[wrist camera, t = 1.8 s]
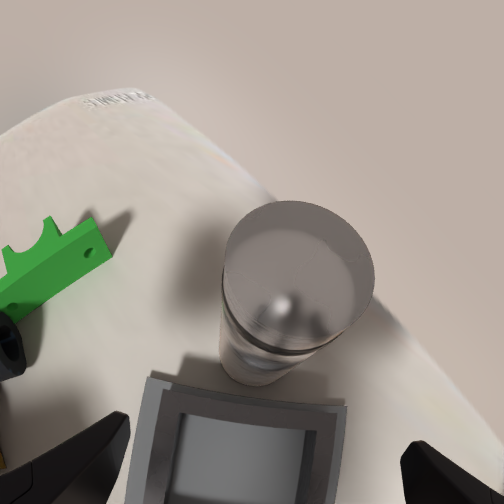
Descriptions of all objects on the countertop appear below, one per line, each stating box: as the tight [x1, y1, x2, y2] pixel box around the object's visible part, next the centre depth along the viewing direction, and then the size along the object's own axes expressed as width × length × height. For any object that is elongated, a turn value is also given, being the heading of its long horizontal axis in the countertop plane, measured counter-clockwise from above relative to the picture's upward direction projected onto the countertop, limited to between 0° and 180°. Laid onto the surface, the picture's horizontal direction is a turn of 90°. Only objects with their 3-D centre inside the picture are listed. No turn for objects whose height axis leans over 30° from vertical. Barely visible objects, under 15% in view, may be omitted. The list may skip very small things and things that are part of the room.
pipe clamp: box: [0, 216, 112, 324], centre depth 20 cm, size 11×4×5 cm, turn 131°
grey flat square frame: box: [124, 377, 347, 504], centre depth 16 cm, size 12×14×1 cm
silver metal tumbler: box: [219, 201, 375, 386], centre depth 16 cm, size 5×5×13 cm
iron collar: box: [143, 389, 337, 504], centre depth 14 cm, size 11×11×2 cm
